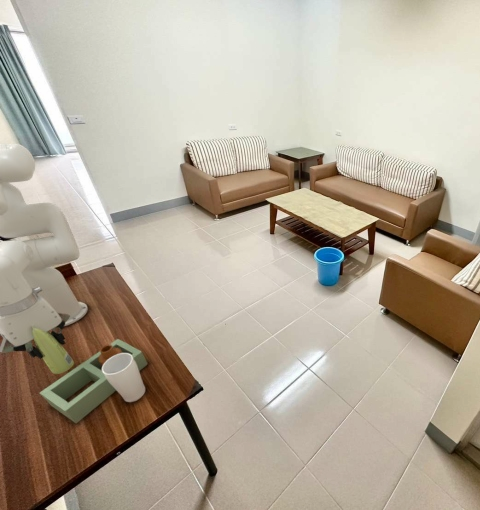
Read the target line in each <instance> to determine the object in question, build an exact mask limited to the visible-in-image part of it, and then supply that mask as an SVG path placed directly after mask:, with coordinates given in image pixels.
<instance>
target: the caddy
mask: <svg viewBox="0 0 480 510" xmlns="http://www.w3.org/2000/svg"><path fill="white" fill-rule="evenodd" d="M109 345H112V346H113V348H114V347H116V348H120V349H121V351H122V353H129V354H131V355H132V357H133V358H134V360H135V361H136V363H137V366H138V369H139V372H140V371H141V370H143V369H144V368H145V367H146V366H147V365H148V362H147V360H146V358H145V356H144V353H143V351H141V350H140V349H138V348H137V347H134V346H132V345H131V344H129V343H127V342H125V341H123V340H121V339H119V338H116V339H115V340H114V341H112V342H111V343H110V344H109ZM100 354H101V352H100V350H99V351H98V352H96V353H95V354H93V355H92V356H91V357H89V358H87V359H86V360H84V362H82V363H80V364H79V365H77V366H76V367H74V368H73V369H72V370H70V371H69V372H68V373H66V374H65V375H63V376H61V377H60V378H59V379H57V380H56V381H54V382H53V383H51V384H50V385H48V386H47V387H46V388H44V389H42V391H40V392H39V395H41V397H42V398H43V399H44V400H45V401H46V402H47V403H48V404H49V405H50V407H52V408H53V409H55V410H56V411H58V412H59V413H60V414H62V415H63V416H65V417H66V418H67V419H68V420H70V421H72V422H73V423H75V424H78V423H79V422H80V421H81V420H83V419H84V418H85V417H86V416H87V415H89V414H90V413H91V412H92V411H93V410H95V409H96V408H97V407H98V406H100V404H102V403H103V402H104V401H105V400H106V399H108V398H109V397H110V396H111V395H112V394H114V393H115V392H117V391H116V390H115V389H114V387H113V386H112V385H111V384H110V383H109V382H108V381H107V379H106V378H105V376H104V374H103V372H102V366H101V364H100V363H99V360H98V358H99V356H100ZM90 382H93V383H92V384H91V385H90V386H89V387H87V388H86V389H84V390H83V391H82V392H81V393H79V394H78V395H77V396H75V397H74V398H73V399H71V400H70V401H69V402H68V401H67V400H68V399H69V398H71V396H73V395H74V394H76V393H77V392H79V391H80V390H81V389H82V388H84V387H85V386H86V385H88V384H89V383H90Z"/></svg>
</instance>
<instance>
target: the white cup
mask: <svg viewBox="0 0 480 510" xmlns="http://www.w3.org/2000/svg"><path fill="white" fill-rule="evenodd" d="M102 372H103V374H104V376H105V378H106V379H107V381H108V382H109V383H110V384H111V385H112V386H113V387H114V389H115V390H116V391H115V392H117V393H118V394H119V395H120V396H121V398H122V399H123V400H124V402H126V403H134V402H136V401H138V400H140V399H141V398H142V397H143V396H144V395H145V393H146V385H145V384H144V381H143V378H142V375H141V372H140V371H139V369H138V366H137V363H136V361H135V360H134V358H133V357H132V355H131V354H129V353H120V354H117V355H114V356H112V357H111V358H109V359H108V360H107V361H106V362H105V363H104V364H103V366H102Z"/></svg>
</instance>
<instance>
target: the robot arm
mask: <svg viewBox="0 0 480 510" xmlns="http://www.w3.org/2000/svg"><path fill="white" fill-rule="evenodd" d="M35 171H36V162H35V158H34V157H33V155H32V153H31V152H30V150H29V149H28V148H26V146H24V145H22V144H19V143H11V142H10V143H0V237H1V238H4V239H11V240H4V241H3V240H2V241H0V336H1V337H2V341H1V343H0V353H1V354H7V353H13V352H27V353H28V355H29V356H30V357H32V358H33V359H34V358H36V357H37V358H38V359H40V360H42V359H43V355H42V354H41V353H40V352H39V350H38V349H37V347H36V346H34V345H33V343H32V341H34V336H33V332H32V331H33V328H32V326H33V327H34V328H37V329H40V330H42V331H44V332H47V331H49V332H50V333H51V334H52V335H53V336H54V337H55V338H56V340H57V341H58V342H59V343H60V344H61V345H62V346H64V345H67V344H66V342H65V340H66V337H65V335H64V334H63V329H64V327H67V326H70V325H72V324H74V323H76V322H78V321H80V320H81V319H82V318H84V316H85V315H86V314H87V313H88V311H89V310H88V309H89V308H88V305H87V304H86V303H84V302H82V301H78V299H77V298H76V295H75V294H74V292H73V290H72V289H71V288H70V286H69V283H68V282H67V281H66V279H65V277H64V275H63V274H62V272H60V270H58V269H56V268H55V267H53V266H58V265H63V264H66V263H70V262H74V261H77V260H78V259H79V258H80V256H81V255H80V254H81V253H80V252H81V251H80V249H79V246H78V243H77V241H76V239H75V236H74V234H73V232H72V230H71V229H72V228H71V227H70V225H69V222H68V219H67V218H66V215H65V214H64V212H63V211H62V209H61V208H60V207H59V206H58V205H57V204H55V203H52V202H39V203H30V204H28V203H26V201H25V199H24V197H23V194H22V192H21V190H20V189H19V188H18V187H16V185H13V184H12V183H20V182H21V183H22V182H28V181H30V180H31V179H32V178H33V176H34V173H35ZM47 233H48V234H52V235H49V236H44V237H38V238H30V239H26V240H17V239H16V238H23V237H24V238H25V237H28V236H35V235H36V236H37V235H41V234H47ZM12 239H13V240H12Z"/></svg>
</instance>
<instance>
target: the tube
mask: <svg viewBox="0 0 480 510" xmlns="http://www.w3.org/2000/svg"><path fill="white" fill-rule="evenodd" d="M32 328H33V331H32V332H33V336H34V339H33V342H34V345H35V347H36V348H37V349H38V350H39V352H40V353H41V354H42V355H43V358H42V359H43V361H44V363H45V364H46V366H47V367H48V369H49V370H50V372H51V373H52V374H54V375H60V374H63V373H65V372H67V371H69V370H70V369H72V367H73V366H74V365H75V361H74V359H73V358H72V356H71V355H70V354H69V353H68V352H67V350H66V349H65V347H64V346H63V345H62V344H60V343H59V342H58V341H57V340H56V338H55V337H54V336H53V335H52V334H51V331H50V330H49V331H47V332H44V331H42V330H40V329H37V328H34V327H33V326H32Z"/></svg>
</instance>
